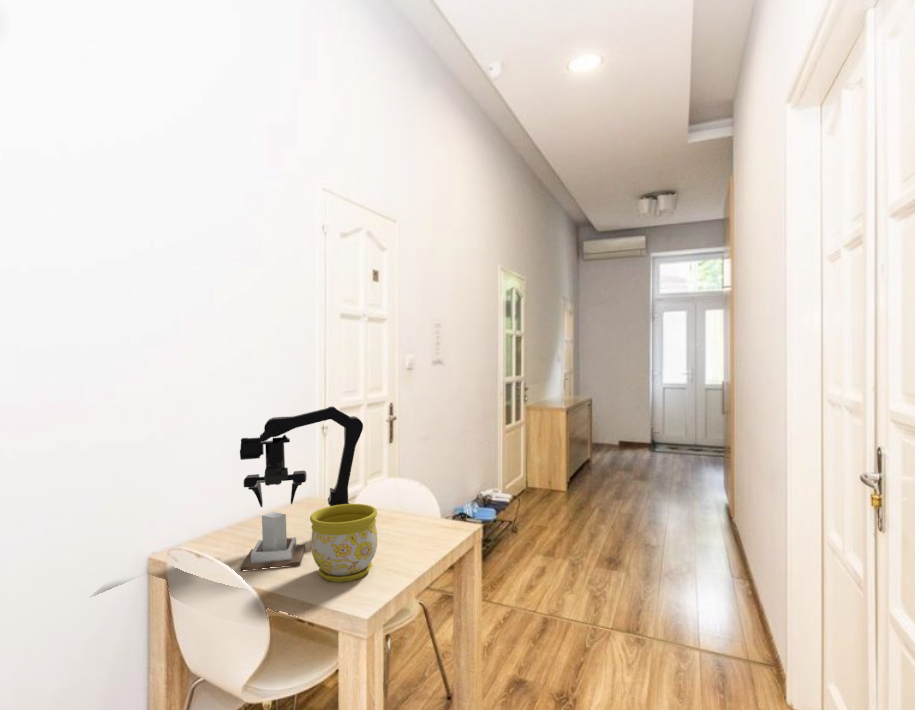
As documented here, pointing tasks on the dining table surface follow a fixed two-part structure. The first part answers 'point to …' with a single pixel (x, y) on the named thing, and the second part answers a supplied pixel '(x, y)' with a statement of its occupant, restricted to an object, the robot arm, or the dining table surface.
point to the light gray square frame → (273, 553)
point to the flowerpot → (344, 541)
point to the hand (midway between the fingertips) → (276, 505)
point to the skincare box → (274, 531)
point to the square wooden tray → (294, 562)
